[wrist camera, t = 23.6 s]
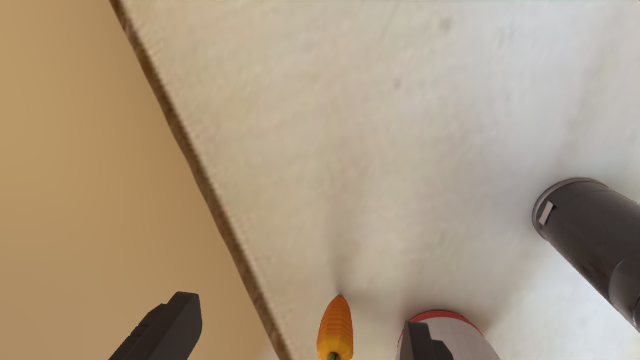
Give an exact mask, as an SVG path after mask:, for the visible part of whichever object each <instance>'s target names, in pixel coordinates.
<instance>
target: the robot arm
mask: <svg viewBox="0 0 640 360" xmlns="http://www.w3.org/2000/svg"><path fill="white" fill-rule="evenodd" d="M532 220H533V225H534V227H535V229H536V231H537V232H538V233H539V234H540V235H541V236H542V237H543V238H544V239H545V240H547V241H548V242H549V243H550V244H551V245H552V246H553V247H554V248H555V249H556V250H557V251H558V252H559V253H560V254H561V255H562V256H563V257H564V258H565V259H566V260H567V261H568V262H569V263H570V264H571V265H572V266H573V267H574V268H575V269H576V270H577V271H578V272H579V273H580V274H581V275H582V276H583V277H584V278H585V279H586V280H587V281H588V282H589V283H590V284H591V285H592V286H593V287H594V288H595V289H596V290H597V291H598V292H599V293H600V294H601V295H602V296H603V297H604V298H605V299H606V300H607V301H608V302H609V303H610V304H611V305H612V306H613V307H614V308H615V309H616V310H617V311H618V312H619V313H620V314H621V315H622V316H623V317H624V318H625V319H626V320H627V321H628V322H629V323H630V324H631V325H632V326H633V327H634V328H635V329H636V330H637V331H638V332H639V333H640V205H639V204H638V203H636V202H634V201H632V200H630V199H628V198H626V197H624V196H622V195H621V194H619V193H617V192H615V191H613V190H611V189H609V188H608V187H607V186H605V185H604V184H602V183H600V182H598V181H596V180H592V179H588V178H573V179H568V180H565V181H562V182H559V183H557V184H555V185H553V186H552V187H550V188H549V189H548V190H546V191H545V192H544V193H543V194H542V195H541V196H540V198H539V199H538V200H537V202H536V204H535V206H534V209H533V214H532ZM201 330H202V318H201V309H200V300H199V295H198V294H195V293H188V292H180V291H179V292H176V293H175V294H174V295H173V297H172V298H171V299H170V300H169V302H168V303H167V304H160V305H159V306H157V307H156V308H154V309H153V310H151V311H150V312H148V314H147V315H146V316H145V317H144V318H143V319H142V321H141V322H140V323H139V325H138V326H137V327H136V328H135V329H134V330H133V331H132V332H131V335H130V336H128V337H127V338H126V339H125V341H124V342H123V343H122V344H121V345H120V347H119V348H118V349H117V350H116V351H115V352H114V354H113V355H112V356H111V357H110V358H109V360H187V358H188V357H189V355H190V353H191V352H192V350H193V348H194V347H195V345H196V343H197V341H198V339H199V337H200V334H201ZM400 360H454V358H453V355H452V353H451V352H450V350H449V349H448V348H447V346H446V345H445V344H444V342H443V341H442V340H434V339H431V335H430V331H429V327H428V324H427V323H424V322H416V321H408V320H406V321H405V325H404V331H403V337H402V343H401V349H400Z"/></svg>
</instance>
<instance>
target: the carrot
mask: <svg viewBox="0 0 640 360" xmlns="http://www.w3.org/2000/svg"><path fill="white" fill-rule="evenodd" d="M317 350H318V356H319V358H320V359H321V360H350V359H351V358H352V356H353V328H352V320H351V313H350V309H349V305H348V303H347V301H346V300H345V298H344V297H343V296H342V295H338V296H336V297H335V298H334V299H333V300H332V301H331V303H330V304H329V305H328V307H327V309H326V311H325V313H324V315H323V318H322V320H321V324H320V329H319V333H318V338H317Z"/></svg>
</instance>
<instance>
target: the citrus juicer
mask: <svg viewBox="0 0 640 360" xmlns="http://www.w3.org/2000/svg"><path fill="white" fill-rule="evenodd" d="M410 321H416V322H424V323H427V324H428V327H429V331H430V335H431V339H434V340H442V341H443V342H444V344H445V345H446V346H447V348H448V349H449V350H450V352H451V353H452V355H453V358H454V360H500V358H499V357H498V355H497V354H496V352H495V351H494V349H493V348H492V346H491V345H490V344H489V342H488V341H487V340H486V339H485V338H484V337H483V335H482V333H481V332H480V331H479V330H478V329H477V328H476V327H475V326H474V325H473V324H472V323H470V322H469V321H468V320H467V319H465V318H464V317H462V316H460V315H458V314H456V313H452V312H449V311H429V312H425V313H422V314H419V315H417V316H416V317H414V318H412V319H411V320H410ZM403 331H404V329H403ZM403 331H402V333H401V336H400V338H399V341H398V346H397V353H396V358H395V360H400V349H401V343H402V337H403Z"/></svg>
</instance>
